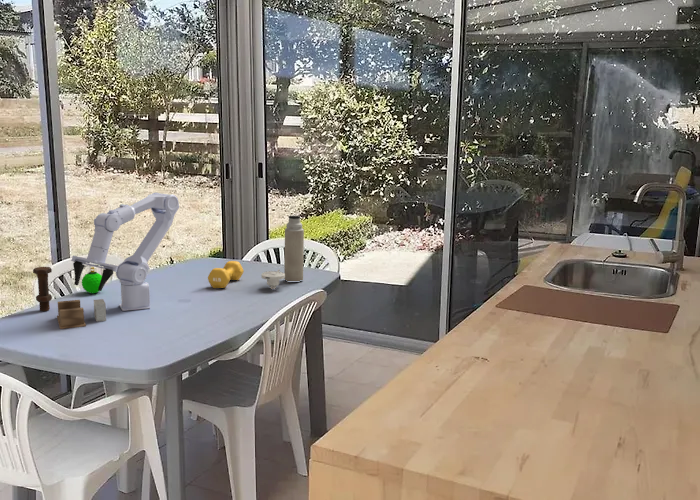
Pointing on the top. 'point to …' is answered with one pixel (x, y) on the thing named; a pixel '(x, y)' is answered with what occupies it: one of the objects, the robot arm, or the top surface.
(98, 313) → the grey concrete block
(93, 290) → the ornament
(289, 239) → the thermos bottle
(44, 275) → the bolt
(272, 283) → the showerhead
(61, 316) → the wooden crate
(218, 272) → the dumbbell
